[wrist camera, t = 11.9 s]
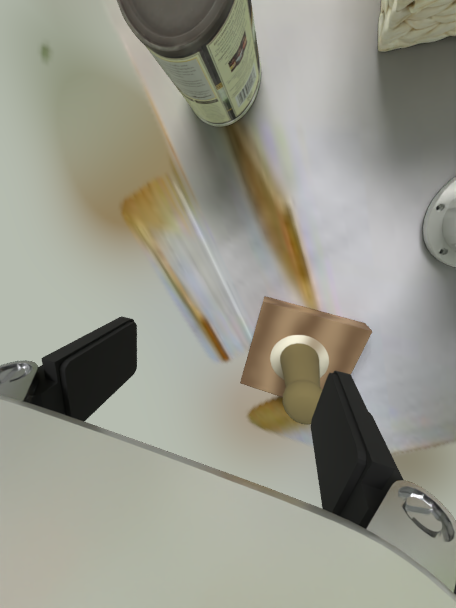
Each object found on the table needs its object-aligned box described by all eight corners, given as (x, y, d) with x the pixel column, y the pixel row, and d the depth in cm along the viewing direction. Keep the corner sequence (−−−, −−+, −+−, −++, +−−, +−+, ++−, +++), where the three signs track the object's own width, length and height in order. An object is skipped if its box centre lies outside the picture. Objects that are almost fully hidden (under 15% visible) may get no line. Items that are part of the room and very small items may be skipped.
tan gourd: (306, 382, 36) (315, 441, 26) (273, 364, 36) (269, 416, 26) (327, 354, 34) (346, 408, 23) (291, 336, 34) (295, 381, 24)
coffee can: (190, 25, 28) (108, -158, 15) (270, 29, 26) (257, -173, 13) (181, 123, 31) (109, 46, 18) (251, 132, 30) (226, 54, 17)
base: (364, 323, 34) (372, 331, 31) (327, 400, 39) (331, 414, 37) (264, 296, 36) (263, 301, 33) (242, 373, 42) (240, 383, 39)
